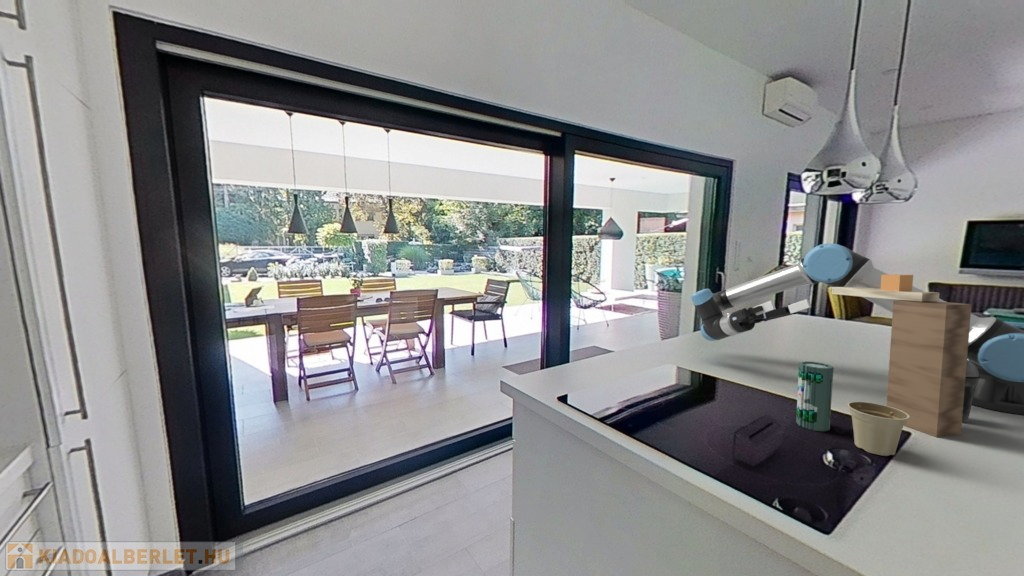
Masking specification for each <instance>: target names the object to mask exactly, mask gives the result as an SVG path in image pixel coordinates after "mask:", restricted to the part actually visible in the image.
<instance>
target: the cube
mask: <svg viewBox="0 0 1024 576" xmlns="http://www.w3.org/2000/svg"><path fill="white" fill-rule="evenodd" d="M888 274H889V275H882V276H881V290H886V291H912V286H913V285H914V281H913V280H914V275H913V274H890V273H888Z"/></svg>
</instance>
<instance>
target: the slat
mask: <svg viewBox="0 0 1024 576" xmlns="http://www.w3.org/2000/svg"><path fill="white" fill-rule="evenodd" d="M831 295H841V296H851V297H861V298H863V297H873V298H885V299H897V300H908V301H920V302H927V301H939V299H940V292H935V291H933V292H932V291H924V292H921V291H886V290H881V289H874V288H858V287H831Z"/></svg>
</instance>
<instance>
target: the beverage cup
mask: <svg viewBox="0 0 1024 576" xmlns="http://www.w3.org/2000/svg"><path fill="white" fill-rule="evenodd" d="M979 378H980V376H979V372H978V369H977V368H976V366H975V365H974V364H973V363H971V362H970V361H969V360H968V359H967V366H966V378H965V390H964V402H963V414H962V424H965V423H968V419H969V417H970V415H971V414H970V413H971V408H972V401H973V396H974V392H975V387H976V385H977V383H978V380H979Z"/></svg>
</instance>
